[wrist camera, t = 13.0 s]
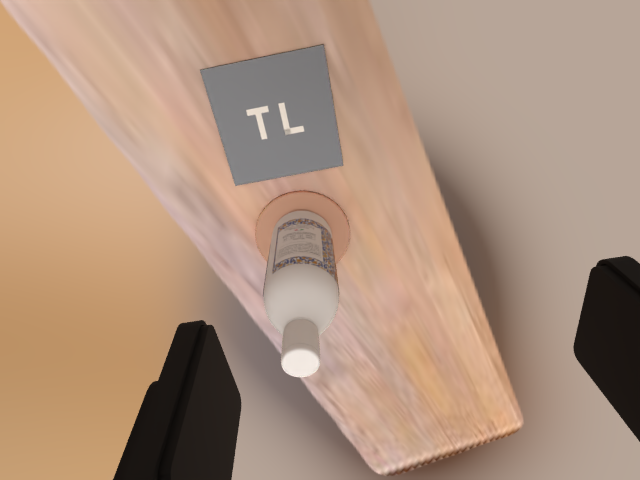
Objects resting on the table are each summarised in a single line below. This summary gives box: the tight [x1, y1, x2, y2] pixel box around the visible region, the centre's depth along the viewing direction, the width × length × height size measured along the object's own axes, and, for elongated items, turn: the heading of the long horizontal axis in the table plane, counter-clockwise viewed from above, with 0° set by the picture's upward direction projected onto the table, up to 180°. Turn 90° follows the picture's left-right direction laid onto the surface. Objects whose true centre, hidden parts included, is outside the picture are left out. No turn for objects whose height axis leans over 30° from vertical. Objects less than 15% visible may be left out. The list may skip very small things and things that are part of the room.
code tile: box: [200, 45, 343, 186], centre depth 42 cm, size 12×12×1 cm
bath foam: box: [263, 211, 339, 377], centre depth 39 cm, size 7×7×20 cm
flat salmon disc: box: [255, 191, 350, 263], centre depth 48 cm, size 11×11×1 cm
